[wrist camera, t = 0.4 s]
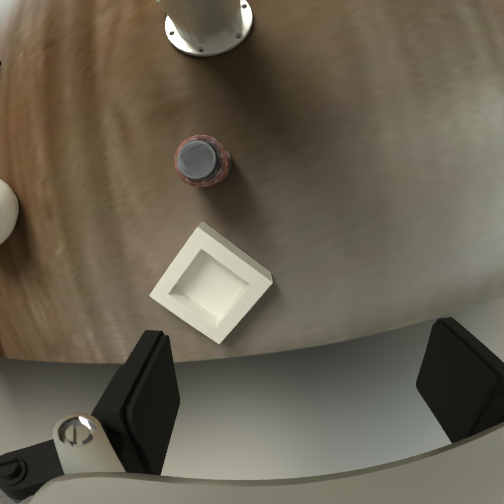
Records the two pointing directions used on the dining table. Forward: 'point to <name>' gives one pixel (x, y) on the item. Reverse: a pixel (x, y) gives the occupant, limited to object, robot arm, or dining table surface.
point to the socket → (211, 283)
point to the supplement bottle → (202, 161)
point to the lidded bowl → (7, 210)
